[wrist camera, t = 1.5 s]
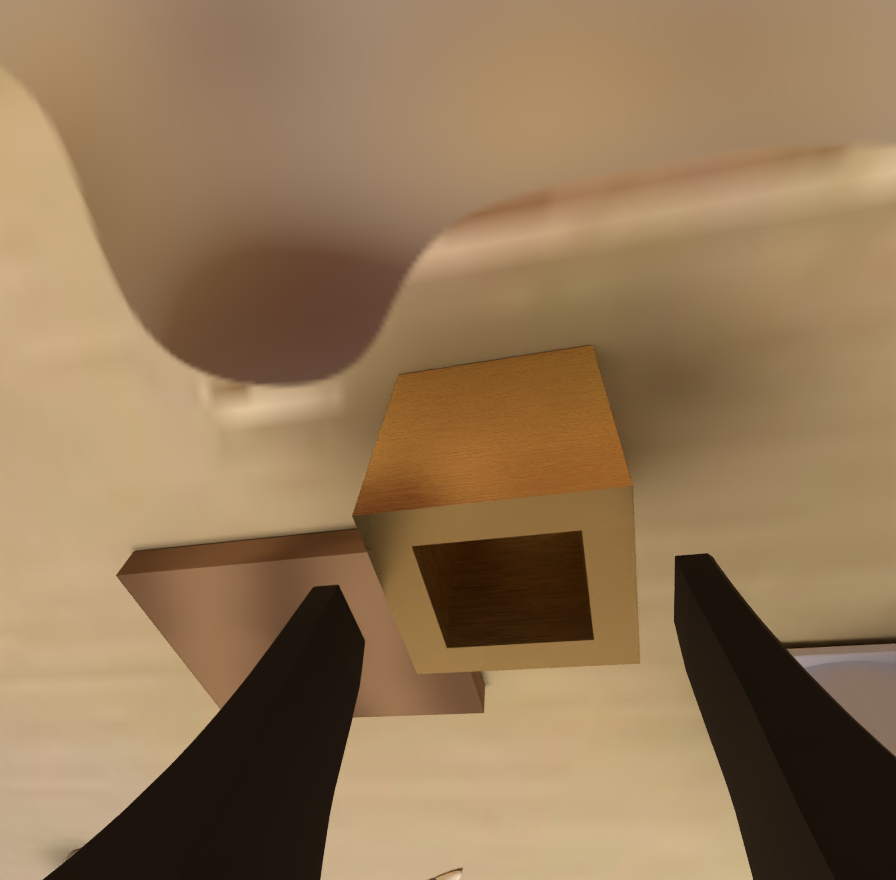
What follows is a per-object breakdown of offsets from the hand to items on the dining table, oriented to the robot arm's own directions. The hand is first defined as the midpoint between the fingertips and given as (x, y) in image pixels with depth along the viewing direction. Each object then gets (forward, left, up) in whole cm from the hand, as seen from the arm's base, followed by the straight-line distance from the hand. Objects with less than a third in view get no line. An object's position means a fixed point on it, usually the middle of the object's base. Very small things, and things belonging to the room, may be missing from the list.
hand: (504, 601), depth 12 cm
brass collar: (0, 0, -6) cm, 6 cm away
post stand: (+9, +8, -6) cm, 14 cm away
